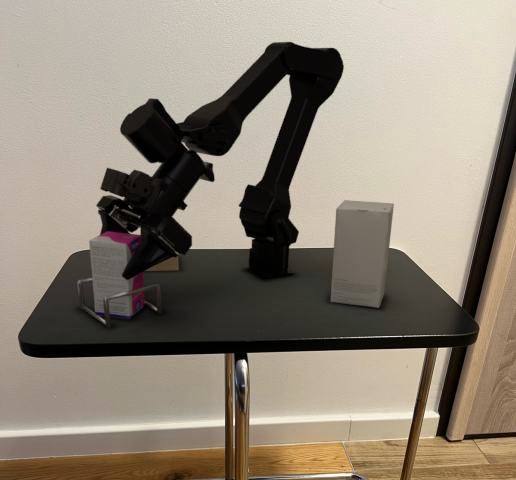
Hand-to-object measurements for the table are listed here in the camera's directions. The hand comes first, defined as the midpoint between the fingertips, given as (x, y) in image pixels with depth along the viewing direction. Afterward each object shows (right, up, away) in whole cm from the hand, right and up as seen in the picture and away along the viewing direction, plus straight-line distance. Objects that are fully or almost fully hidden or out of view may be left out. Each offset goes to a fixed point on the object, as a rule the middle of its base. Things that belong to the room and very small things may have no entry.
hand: (108, 269), depth 79 cm
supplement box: (+1, -6, +4) cm, 7 cm away
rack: (+1, -6, +4) cm, 7 cm away
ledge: (0, +4, +24) cm, 25 cm away
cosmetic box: (+38, -4, +11) cm, 40 cm away
